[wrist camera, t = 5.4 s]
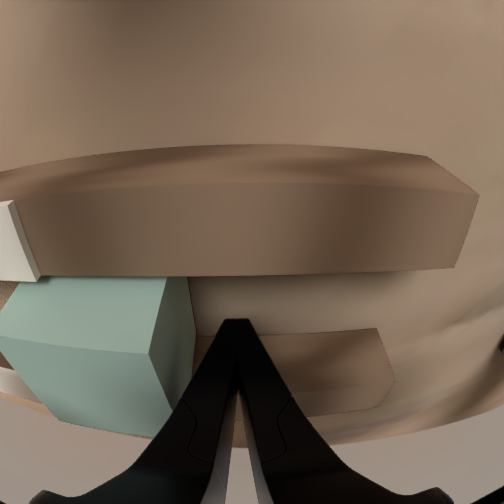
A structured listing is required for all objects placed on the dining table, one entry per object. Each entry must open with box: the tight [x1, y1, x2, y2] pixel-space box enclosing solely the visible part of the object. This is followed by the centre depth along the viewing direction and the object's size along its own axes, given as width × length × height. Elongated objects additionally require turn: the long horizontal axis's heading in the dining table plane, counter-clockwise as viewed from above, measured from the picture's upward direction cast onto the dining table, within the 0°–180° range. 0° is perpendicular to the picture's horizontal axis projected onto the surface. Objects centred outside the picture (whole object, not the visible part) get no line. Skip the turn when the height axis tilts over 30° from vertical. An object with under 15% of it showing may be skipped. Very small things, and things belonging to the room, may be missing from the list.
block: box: [0, 275, 196, 437], centre depth 9 cm, size 5×5×5 cm
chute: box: [0, 145, 479, 420], centre depth 10 cm, size 20×11×3 cm, turn 90°
